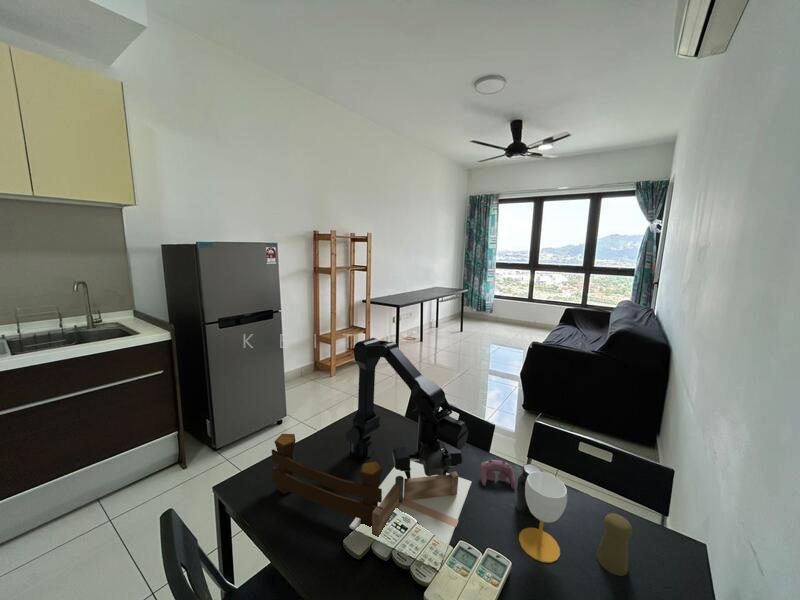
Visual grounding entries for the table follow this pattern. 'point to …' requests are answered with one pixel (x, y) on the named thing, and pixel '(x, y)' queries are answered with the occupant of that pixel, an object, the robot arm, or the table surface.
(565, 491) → the cup
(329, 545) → the table surface
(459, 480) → the card
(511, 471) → the video game controller
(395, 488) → the fence fixed section
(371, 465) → the decorative fence
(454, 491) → the fence panel
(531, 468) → the supplement bottle
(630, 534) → the cork
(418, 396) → the robot arm
